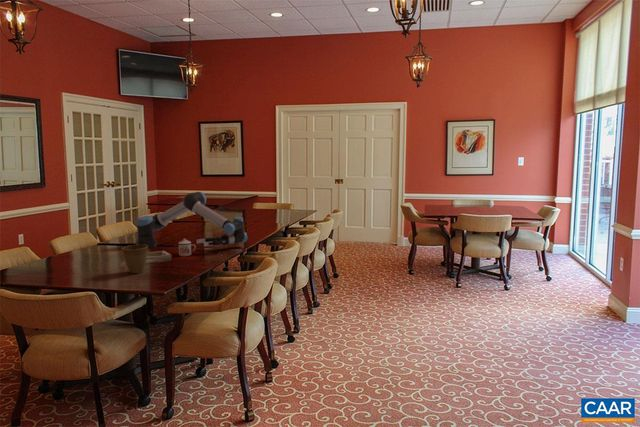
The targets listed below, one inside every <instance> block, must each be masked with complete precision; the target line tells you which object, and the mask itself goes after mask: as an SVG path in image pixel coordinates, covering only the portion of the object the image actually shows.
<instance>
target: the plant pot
mask: <svg viewBox="0 0 640 427" xmlns="http://www.w3.org/2000/svg"><path fill="white" fill-rule="evenodd" d="M148 249H149V248H148V246H147V245H136V244H132V245H127V246H126V245H125V246H124V247H123V246H122V248H121V250H122V256H123V259H124V261H125V264H126V266H127V268H128V270H129V272H130V274H132V273H137V274H141V272H142V273H144V270H145V267H146V264H145V263H146V258H147V253H148Z"/></svg>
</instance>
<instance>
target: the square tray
mask: <svg viewBox="0 0 640 427" xmlns="http://www.w3.org/2000/svg"><path fill="white" fill-rule="evenodd" d="M171 260H173V258H172V254H170V253H169V252H167V251H166V250H156V251H148V252H147V258H146V263H145V265H150V263H151V264H157V262H158V263H163V262H164V263H165V262H171Z"/></svg>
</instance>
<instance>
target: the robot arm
mask: <svg viewBox="0 0 640 427" xmlns="http://www.w3.org/2000/svg"><path fill="white" fill-rule="evenodd" d="M206 203H207V197H206V195H205V194H204V193H203V192H202V191H196V192H191V193H187V194H186V195H185V196H183V198H182V201H181V202H179V203H177V204H176V205H174V206H172V207H171V208H169V209H167V210H165V211H163V212H157V213H155V215H144V216H143V215H142V216H139V217H137V219H136V229H137V230H136V231H137V240H136V244H135V245H147V246H148V249H153V248H156V247H157V241H156V238H155V234H154V232H157V231H159V230H162V229H164V228H165V227H167V225H168V224H169V222H171V221H173V220H175V219H176V218H178V217H181V216H182V215H183V214H186V213H188V212H189V211H191V213H196V214H197V215H200V216H201V217H203V218H205V219H206V220H208V221H209V222H211V223H213V224H215V225H216V226H218V228H221V229H222V230H223V232H224V233H225V234H222V235H221V236H220V237H218V236H217V237H204V238H200V239H196V244H203V247H209V246H218V245H222V246H225V245H226V246H227V245H232V244H239V243H246V242H247V241H248V234H247V232H245V230H244V228H245V226H244V218H243V217H242V216H235V217H233V218H232V221H231V220H229V219H227V218H226V217H224V216H223V215H221V214H219V213H218V212H217V211H214V210H212V209H211V208H209V207H208V206H206Z"/></svg>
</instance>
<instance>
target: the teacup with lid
mask: <svg viewBox="0 0 640 427" xmlns="http://www.w3.org/2000/svg"><path fill="white" fill-rule="evenodd" d="M177 244H178V256H180V257H188V256H191V255H192V252H194V251H195V250H196V248H197V246H196V245H195V244H192V242H191V241H190V240H187V238H183V239H182V240H181V241H179V242H178V243H177ZM192 246H193V247H194V249H193V250H192Z"/></svg>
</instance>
